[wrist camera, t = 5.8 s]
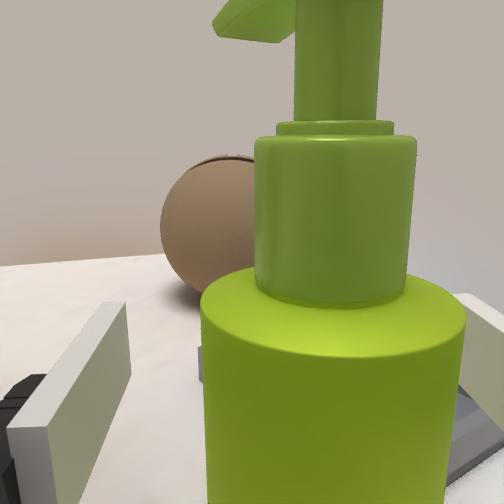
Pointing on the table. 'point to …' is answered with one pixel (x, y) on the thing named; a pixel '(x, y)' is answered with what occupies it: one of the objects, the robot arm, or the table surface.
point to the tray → (459, 434)
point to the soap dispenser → (328, 293)
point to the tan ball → (210, 220)
